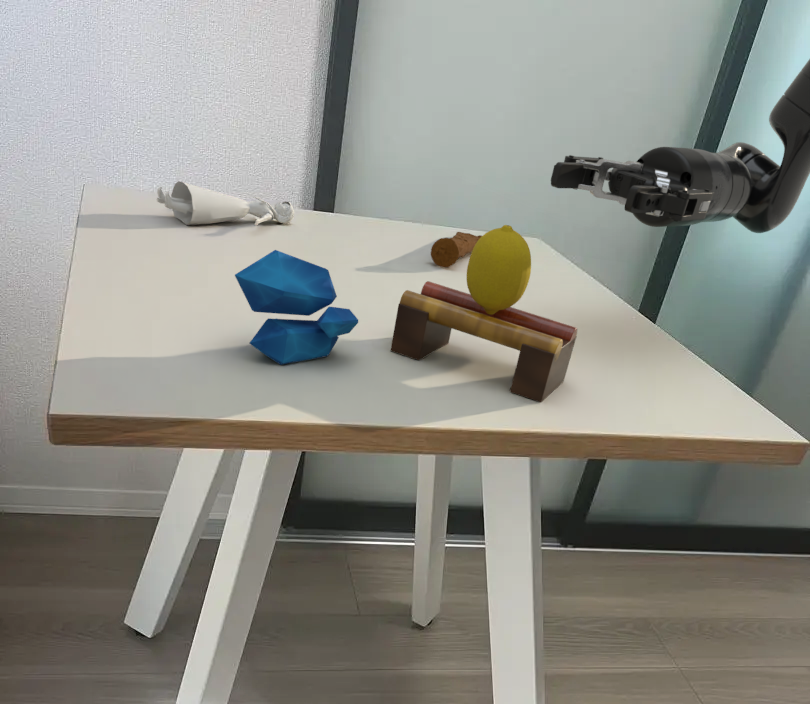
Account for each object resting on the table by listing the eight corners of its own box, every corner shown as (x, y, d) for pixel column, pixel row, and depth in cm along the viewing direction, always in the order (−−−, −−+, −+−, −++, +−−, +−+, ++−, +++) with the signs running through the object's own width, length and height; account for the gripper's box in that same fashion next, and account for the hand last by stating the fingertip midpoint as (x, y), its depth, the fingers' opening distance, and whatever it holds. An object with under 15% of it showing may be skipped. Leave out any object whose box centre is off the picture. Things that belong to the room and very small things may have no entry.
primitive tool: (457, 235, 127) (462, 210, 125) (494, 245, 126) (500, 219, 125) (426, 264, 111) (431, 236, 109) (468, 275, 110) (475, 246, 108)
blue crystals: (388, 286, 76) (279, 260, 67) (355, 381, 79) (247, 369, 70) (333, 259, 80) (224, 231, 71) (305, 350, 83) (197, 335, 74)
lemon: (475, 328, 78) (492, 236, 73) (450, 302, 82) (465, 213, 77) (530, 326, 80) (551, 237, 75) (504, 301, 84) (522, 214, 79)
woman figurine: (143, 167, 108) (273, 183, 119) (140, 205, 110) (268, 218, 121) (184, 193, 100) (319, 208, 111) (180, 233, 102) (312, 244, 113)
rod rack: (563, 381, 84) (580, 325, 81) (541, 402, 78) (557, 343, 75) (421, 333, 88) (432, 278, 85) (390, 350, 83) (400, 292, 80)
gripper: (634, 133, 95) (542, 125, 84) (755, 166, 87) (671, 162, 76) (613, 206, 99) (522, 208, 88) (728, 244, 91) (643, 251, 80)
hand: (591, 187), depth 82 cm, fingers open, 8 cm apart
